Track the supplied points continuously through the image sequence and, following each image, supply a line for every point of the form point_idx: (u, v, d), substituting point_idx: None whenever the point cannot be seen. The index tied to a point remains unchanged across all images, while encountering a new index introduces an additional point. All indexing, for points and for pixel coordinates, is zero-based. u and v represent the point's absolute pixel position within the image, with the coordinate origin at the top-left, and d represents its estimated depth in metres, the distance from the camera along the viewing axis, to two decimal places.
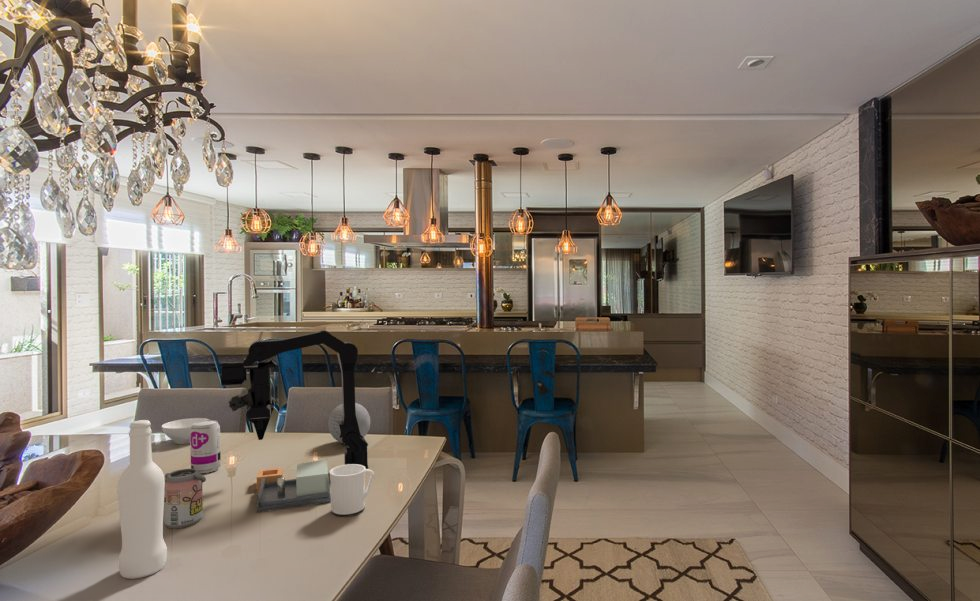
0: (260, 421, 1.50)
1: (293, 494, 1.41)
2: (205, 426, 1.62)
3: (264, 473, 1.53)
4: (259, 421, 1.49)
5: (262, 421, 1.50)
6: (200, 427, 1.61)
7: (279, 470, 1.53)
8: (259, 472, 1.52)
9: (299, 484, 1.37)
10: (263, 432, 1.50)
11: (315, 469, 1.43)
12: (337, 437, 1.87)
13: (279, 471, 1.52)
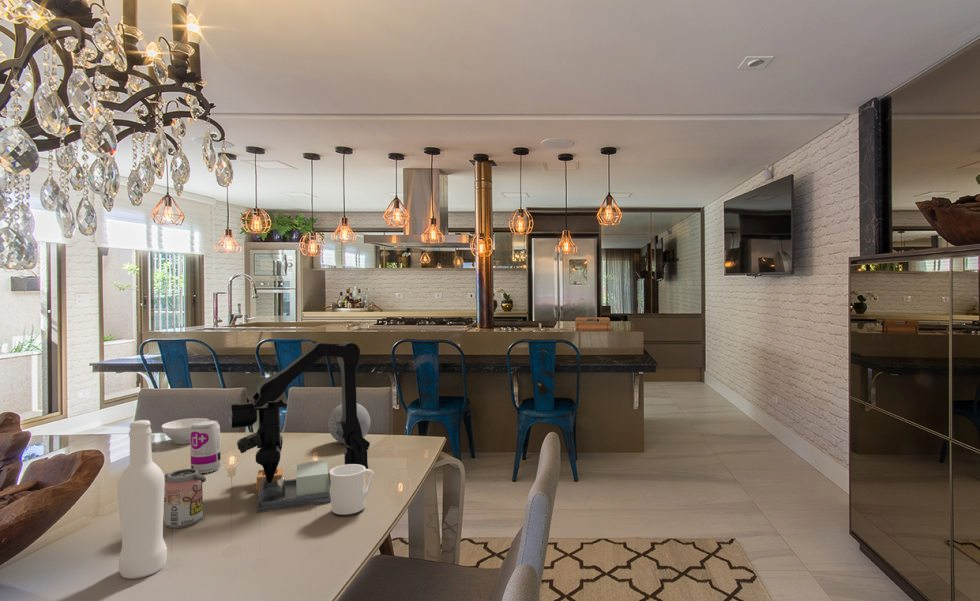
0: (269, 463, 1.46)
1: (293, 494, 1.41)
2: (205, 426, 1.62)
3: (264, 473, 1.53)
4: (268, 463, 1.46)
5: (271, 463, 1.47)
6: (200, 427, 1.61)
7: (279, 470, 1.53)
8: (259, 472, 1.52)
9: (299, 484, 1.37)
10: (272, 475, 1.47)
11: (315, 469, 1.43)
12: (337, 437, 1.87)
13: (279, 471, 1.52)
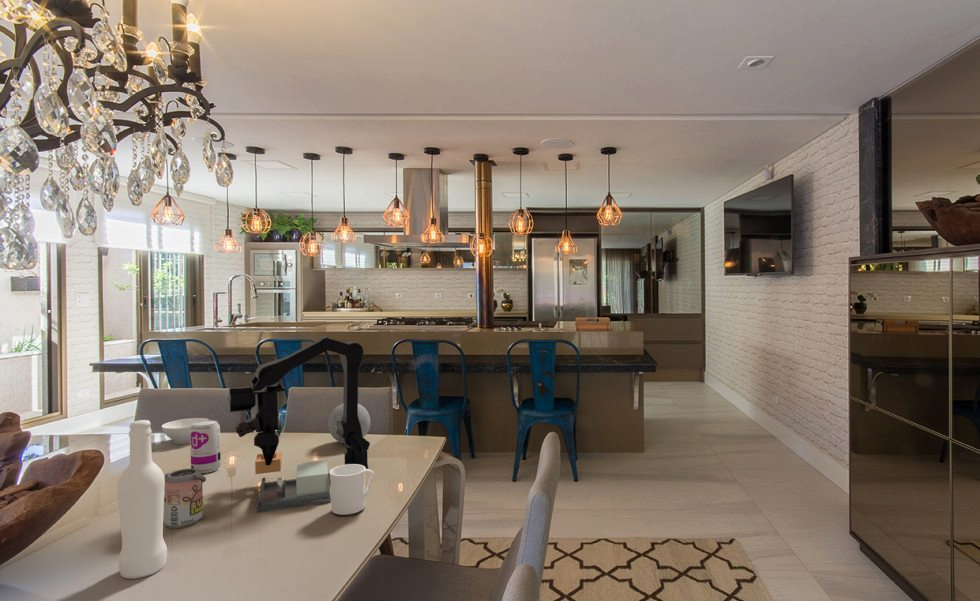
0: (268, 446, 1.47)
1: (293, 494, 1.41)
2: (205, 426, 1.62)
3: (263, 457, 1.53)
4: (267, 446, 1.47)
5: (270, 446, 1.47)
6: (200, 427, 1.61)
7: (278, 454, 1.53)
8: (258, 456, 1.52)
9: (299, 484, 1.37)
10: (271, 457, 1.48)
11: (315, 469, 1.43)
12: (337, 437, 1.87)
13: (278, 455, 1.52)
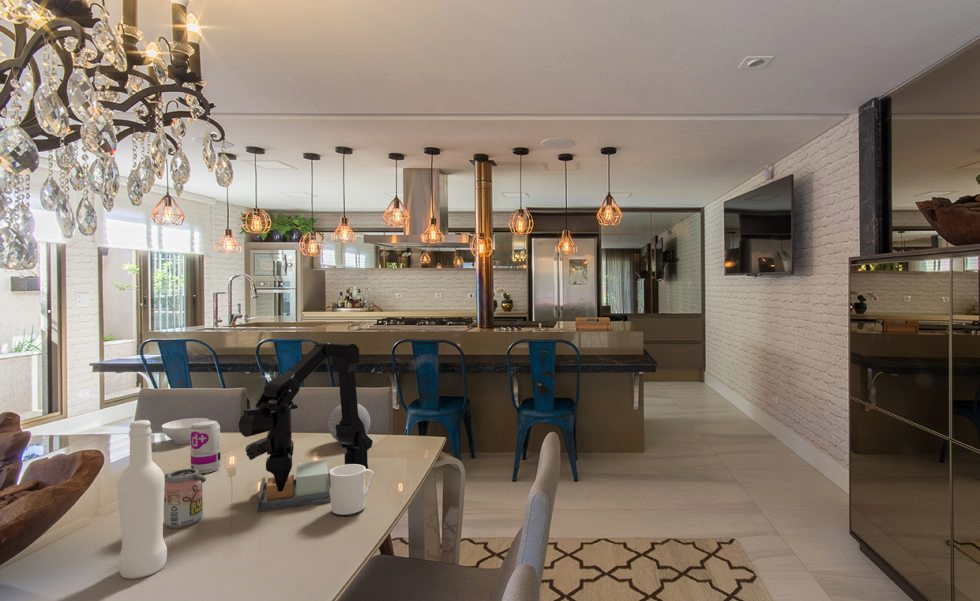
0: (280, 471, 1.36)
1: None
2: (205, 426, 1.62)
3: (274, 481, 1.43)
4: (279, 471, 1.36)
5: (283, 471, 1.36)
6: (200, 427, 1.61)
7: (290, 478, 1.43)
8: (269, 480, 1.42)
9: (299, 484, 1.37)
10: (283, 483, 1.37)
11: (315, 469, 1.43)
12: (337, 437, 1.87)
13: (290, 479, 1.42)
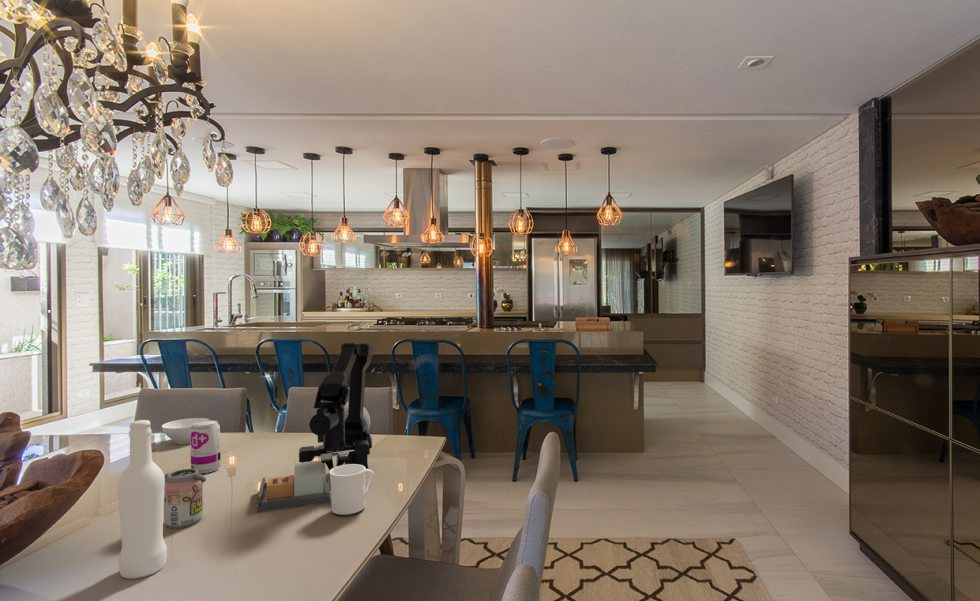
0: None
1: None
2: (205, 426, 1.62)
3: (274, 481, 1.43)
4: None
5: None
6: (200, 427, 1.61)
7: (290, 478, 1.43)
8: (269, 480, 1.42)
9: (297, 484, 1.37)
10: None
11: (313, 469, 1.43)
12: None
13: (290, 479, 1.42)
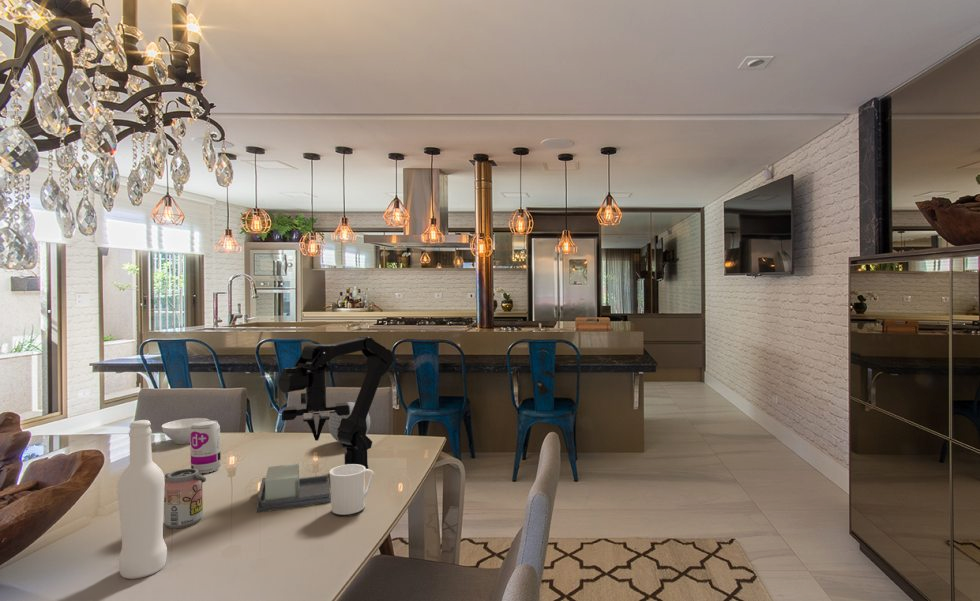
0: None
1: None
2: (205, 426, 1.62)
3: None
4: None
5: None
6: (200, 427, 1.61)
7: None
8: None
9: (268, 488, 1.35)
10: None
11: (285, 472, 1.41)
12: (337, 437, 1.87)
13: None
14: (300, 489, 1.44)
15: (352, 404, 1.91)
